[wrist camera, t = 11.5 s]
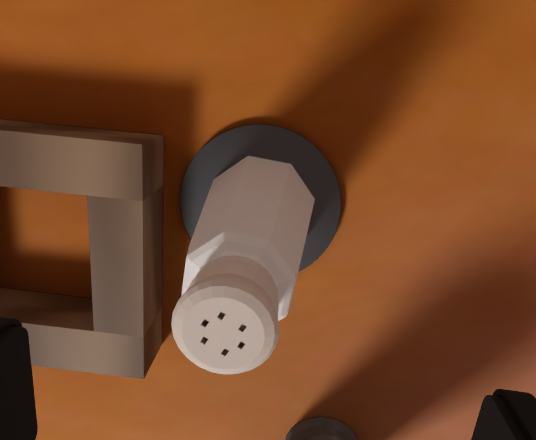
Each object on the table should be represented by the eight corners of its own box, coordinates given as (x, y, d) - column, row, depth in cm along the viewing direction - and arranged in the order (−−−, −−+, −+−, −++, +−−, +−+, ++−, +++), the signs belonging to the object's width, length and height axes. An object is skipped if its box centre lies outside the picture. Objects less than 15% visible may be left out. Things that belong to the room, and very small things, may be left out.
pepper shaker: (337, 193, 21) (375, 311, 10) (276, 277, 22) (256, 451, 12) (243, 131, 20) (182, 190, 10) (187, 221, 22) (84, 355, 11)
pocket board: (163, 135, 21) (141, 144, 18) (161, 344, 25) (143, 379, 22) (-74, 111, 21) (-131, 117, 18) (-39, 320, 25) (-82, 351, 22)
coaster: (351, 132, 20) (352, 133, 20) (328, 284, 23) (329, 287, 22) (184, 116, 20) (182, 117, 20) (180, 267, 23) (178, 270, 23)
